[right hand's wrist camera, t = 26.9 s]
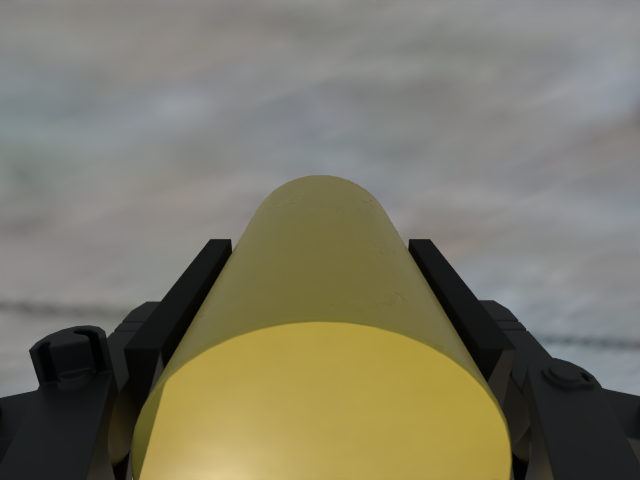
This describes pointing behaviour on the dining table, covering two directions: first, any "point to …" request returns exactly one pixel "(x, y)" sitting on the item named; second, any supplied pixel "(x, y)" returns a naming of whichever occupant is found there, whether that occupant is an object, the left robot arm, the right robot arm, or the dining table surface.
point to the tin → (321, 360)
